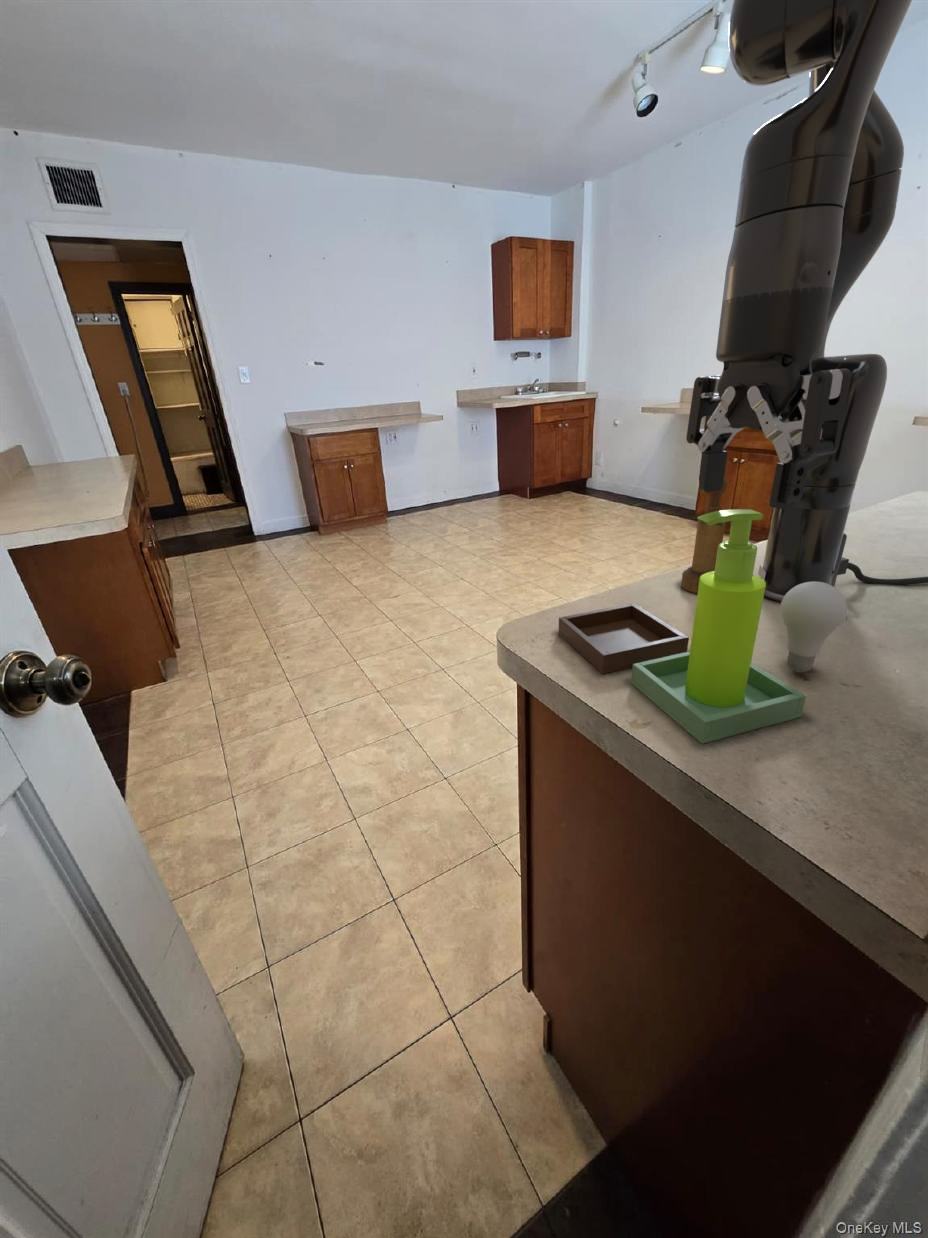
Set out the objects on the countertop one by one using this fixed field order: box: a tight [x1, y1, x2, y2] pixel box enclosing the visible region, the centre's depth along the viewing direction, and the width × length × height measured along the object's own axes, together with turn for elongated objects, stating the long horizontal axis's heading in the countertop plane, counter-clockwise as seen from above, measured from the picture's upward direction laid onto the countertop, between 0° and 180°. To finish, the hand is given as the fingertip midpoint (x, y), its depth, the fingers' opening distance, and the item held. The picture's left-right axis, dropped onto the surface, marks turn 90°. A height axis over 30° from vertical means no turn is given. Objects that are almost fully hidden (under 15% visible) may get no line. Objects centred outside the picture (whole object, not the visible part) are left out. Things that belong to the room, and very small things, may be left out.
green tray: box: [631, 650, 807, 744], centre depth 56 cm, size 12×12×3 cm
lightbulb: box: [780, 582, 848, 673], centre depth 58 cm, size 6×6×11 cm
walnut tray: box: [558, 602, 690, 675], centre depth 68 cm, size 12×12×3 cm
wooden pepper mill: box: [680, 477, 728, 594], centre depth 81 cm, size 7×6×18 cm
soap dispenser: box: [685, 508, 766, 707], centre depth 52 cm, size 6×7×20 cm
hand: (743, 498), depth 47 cm, fingers open, 8 cm apart
